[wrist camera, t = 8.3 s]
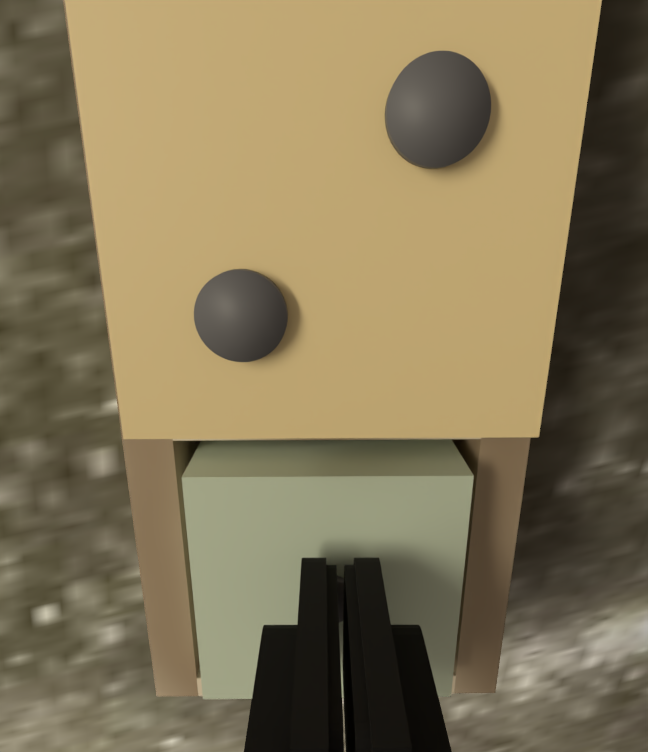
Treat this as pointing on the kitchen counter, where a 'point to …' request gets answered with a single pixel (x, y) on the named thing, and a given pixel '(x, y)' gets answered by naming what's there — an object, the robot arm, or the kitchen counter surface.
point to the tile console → (171, 456)
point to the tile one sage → (321, 540)
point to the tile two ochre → (332, 209)
